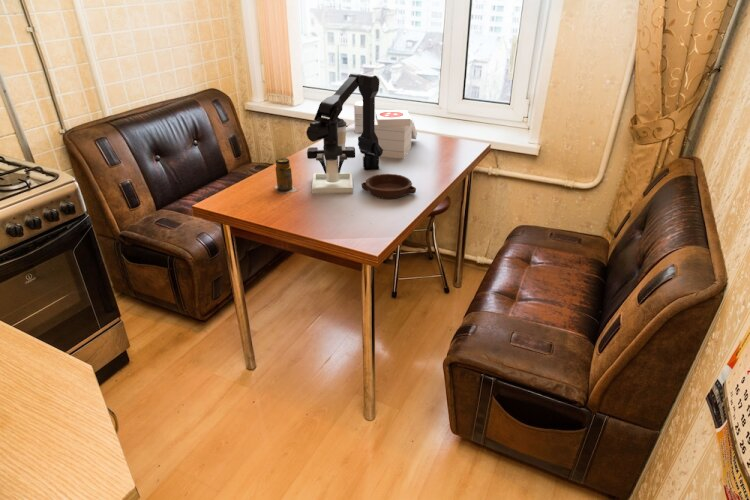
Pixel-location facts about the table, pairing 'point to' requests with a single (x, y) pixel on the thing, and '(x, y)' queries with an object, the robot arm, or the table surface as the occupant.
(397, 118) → the pizza boxes
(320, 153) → the robot arm
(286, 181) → the condiment
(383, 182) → the dish
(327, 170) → the jar
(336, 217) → the table surface
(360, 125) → the supplement box
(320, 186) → the tray
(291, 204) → the table surface
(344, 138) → the coffee cup
